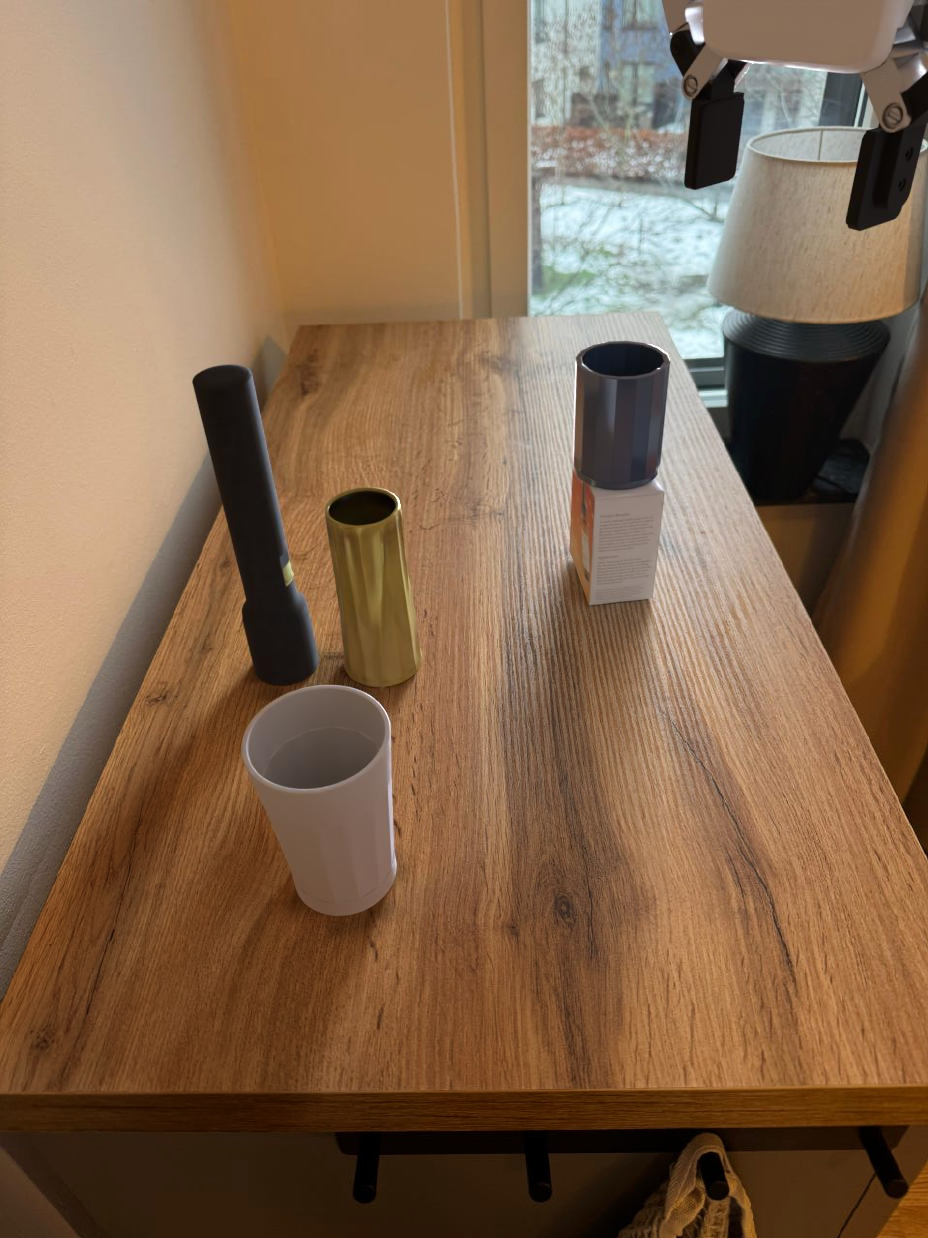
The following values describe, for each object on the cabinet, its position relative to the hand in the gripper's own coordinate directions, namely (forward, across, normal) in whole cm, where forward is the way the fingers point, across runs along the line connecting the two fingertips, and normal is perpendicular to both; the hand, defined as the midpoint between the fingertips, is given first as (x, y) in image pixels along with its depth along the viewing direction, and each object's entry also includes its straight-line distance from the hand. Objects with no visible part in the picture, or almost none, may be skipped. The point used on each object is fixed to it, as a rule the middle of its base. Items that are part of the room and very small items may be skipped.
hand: (784, 202), depth 44 cm
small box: (+34, +16, -6) cm, 38 cm away
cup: (+34, +4, +28) cm, 44 cm away
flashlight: (+34, +23, +22) cm, 47 cm away
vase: (+34, +19, +16) cm, 42 cm away
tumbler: (+24, +16, -6) cm, 29 cm away
